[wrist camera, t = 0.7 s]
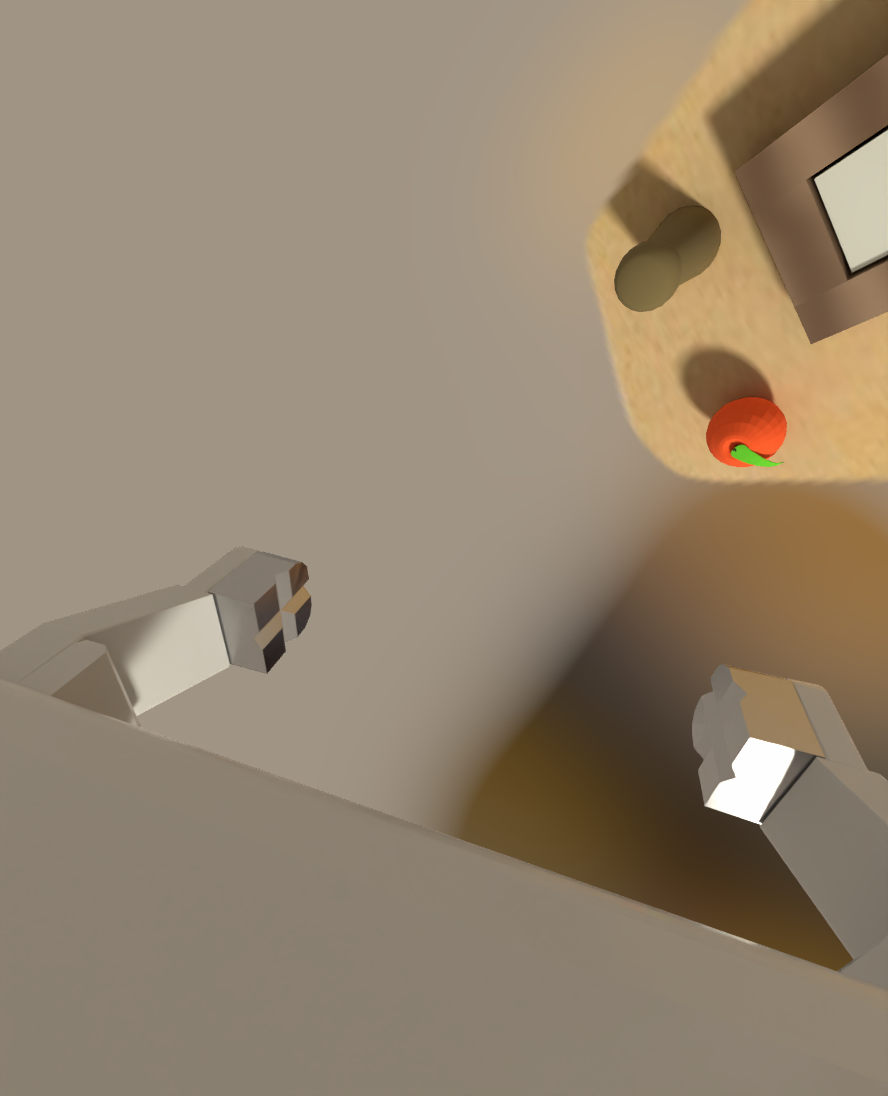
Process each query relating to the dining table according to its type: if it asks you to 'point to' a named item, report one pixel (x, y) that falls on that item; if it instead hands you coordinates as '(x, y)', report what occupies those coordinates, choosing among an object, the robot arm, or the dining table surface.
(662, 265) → the olive pepper mill
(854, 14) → the dining table surface
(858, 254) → the cream square tile
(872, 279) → the socket block
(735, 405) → the clementine
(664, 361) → the dining table surface
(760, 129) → the dining table surface
